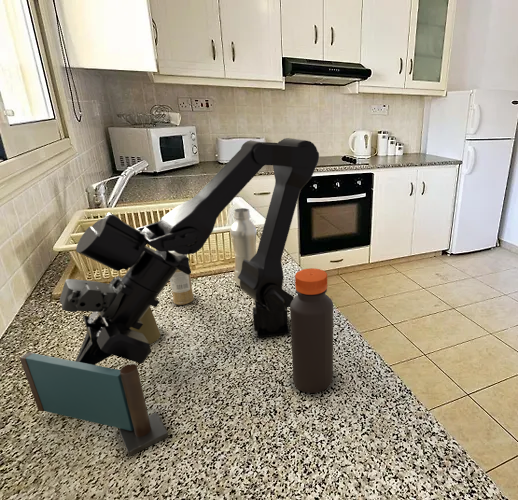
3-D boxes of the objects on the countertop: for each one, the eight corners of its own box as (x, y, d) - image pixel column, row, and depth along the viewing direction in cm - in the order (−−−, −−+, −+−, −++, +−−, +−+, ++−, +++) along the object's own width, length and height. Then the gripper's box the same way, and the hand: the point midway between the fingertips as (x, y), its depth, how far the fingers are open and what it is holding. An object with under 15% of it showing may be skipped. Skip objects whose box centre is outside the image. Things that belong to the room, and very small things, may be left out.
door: (47, 403, 56) (29, 351, 53) (138, 424, 53) (125, 370, 50) (38, 410, 55) (19, 357, 52) (131, 431, 52) (117, 376, 49)
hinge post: (157, 415, 56) (143, 352, 52) (168, 436, 53) (154, 370, 48) (119, 433, 53) (102, 367, 49) (128, 457, 49) (110, 387, 45)
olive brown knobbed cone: (146, 349, 71) (135, 298, 67) (118, 344, 72) (106, 294, 68) (167, 331, 76) (158, 283, 72) (141, 327, 78) (131, 280, 74)
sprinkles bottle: (195, 295, 91) (187, 244, 86) (192, 304, 87) (184, 251, 82) (175, 297, 90) (166, 245, 85) (171, 306, 86) (161, 252, 81)
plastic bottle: (238, 292, 93) (230, 215, 86) (232, 281, 98) (225, 208, 91) (263, 287, 96) (258, 212, 88) (256, 277, 101) (251, 205, 94)
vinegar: (288, 372, 66) (283, 269, 58) (325, 363, 68) (324, 263, 61) (299, 399, 60) (295, 287, 53) (338, 387, 62) (340, 280, 55)
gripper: (80, 241, 59) (11, 326, 56) (105, 281, 46) (17, 394, 43) (143, 273, 67) (85, 348, 64) (180, 314, 54) (110, 411, 51)
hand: (76, 371), depth 55 cm, fingers closed
